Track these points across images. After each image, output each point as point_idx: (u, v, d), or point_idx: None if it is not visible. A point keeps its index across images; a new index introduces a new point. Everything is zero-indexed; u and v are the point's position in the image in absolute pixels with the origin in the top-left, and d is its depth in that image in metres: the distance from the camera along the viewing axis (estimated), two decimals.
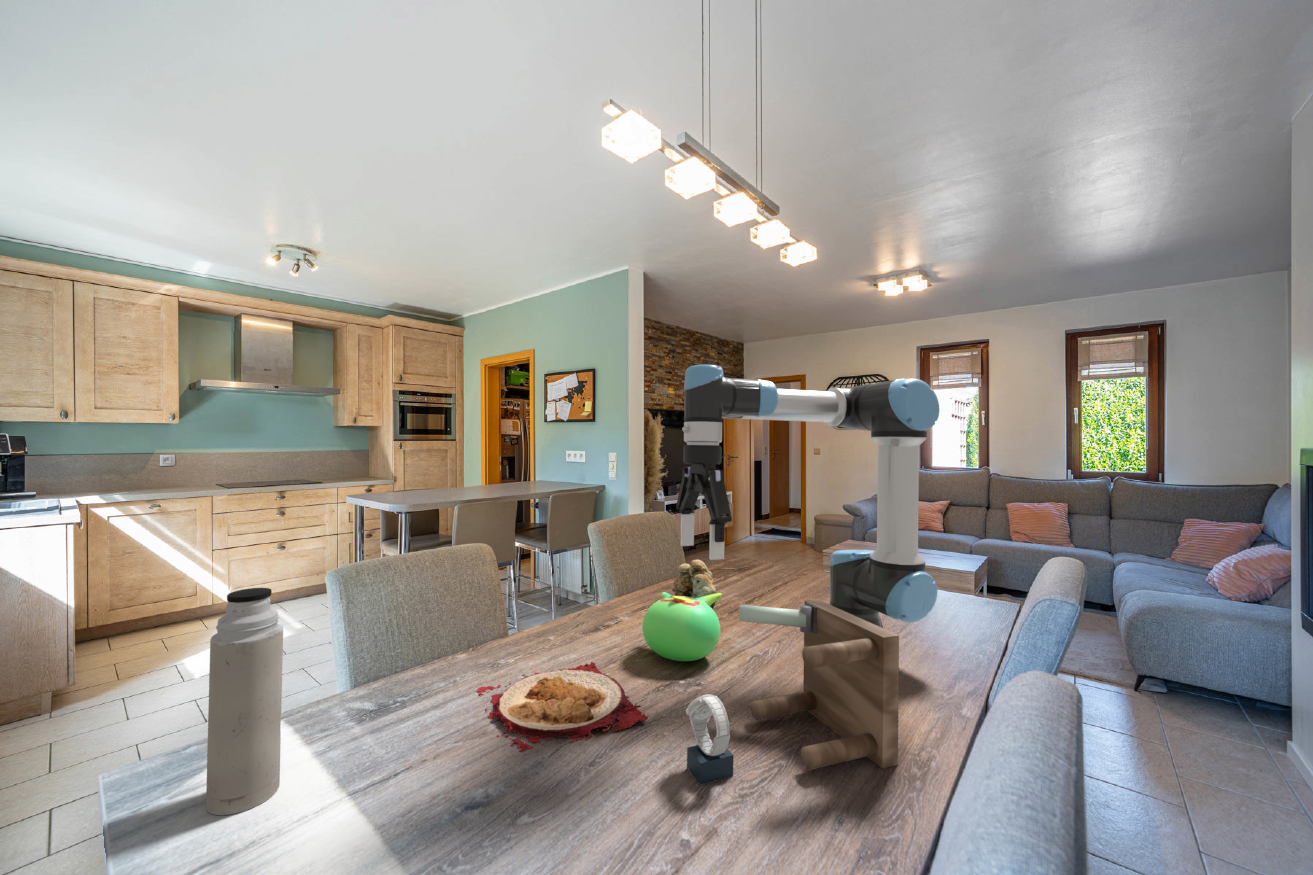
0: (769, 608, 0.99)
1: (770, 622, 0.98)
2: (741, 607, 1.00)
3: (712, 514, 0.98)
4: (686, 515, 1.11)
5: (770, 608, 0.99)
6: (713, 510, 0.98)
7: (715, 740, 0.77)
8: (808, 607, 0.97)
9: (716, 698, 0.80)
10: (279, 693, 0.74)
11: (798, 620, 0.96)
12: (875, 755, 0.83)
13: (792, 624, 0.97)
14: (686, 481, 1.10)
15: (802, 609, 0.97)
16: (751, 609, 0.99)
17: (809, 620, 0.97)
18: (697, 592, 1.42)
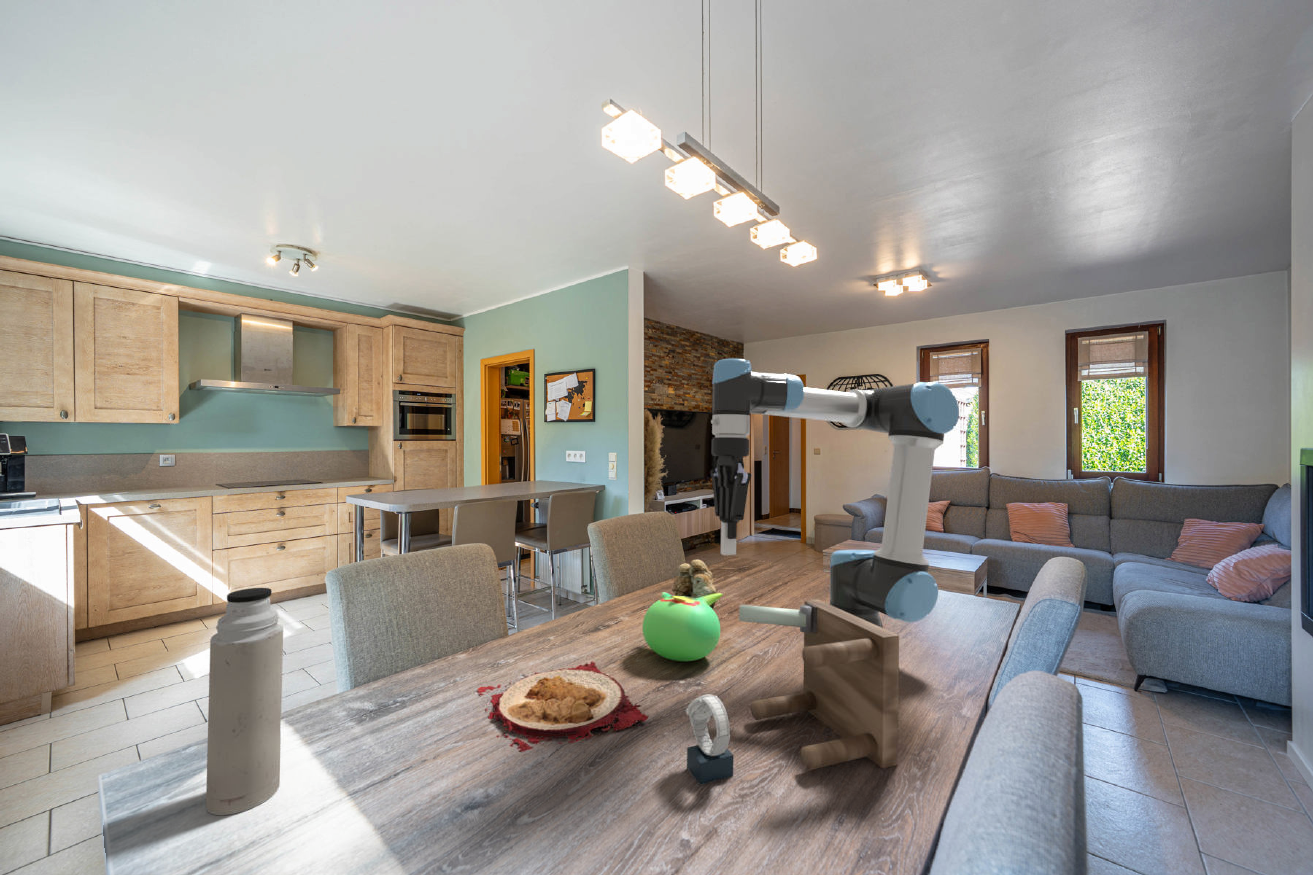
0: (769, 608, 0.99)
1: (770, 622, 0.98)
2: (741, 607, 1.00)
3: (727, 513, 1.05)
4: None
5: (770, 608, 0.99)
6: (729, 510, 1.05)
7: (715, 740, 0.77)
8: (808, 607, 0.97)
9: (716, 698, 0.80)
10: (279, 693, 0.74)
11: (798, 620, 0.96)
12: (875, 755, 0.83)
13: (792, 624, 0.97)
14: (717, 481, 1.10)
15: (802, 609, 0.97)
16: (751, 609, 0.99)
17: (809, 620, 0.97)
18: (697, 592, 1.42)
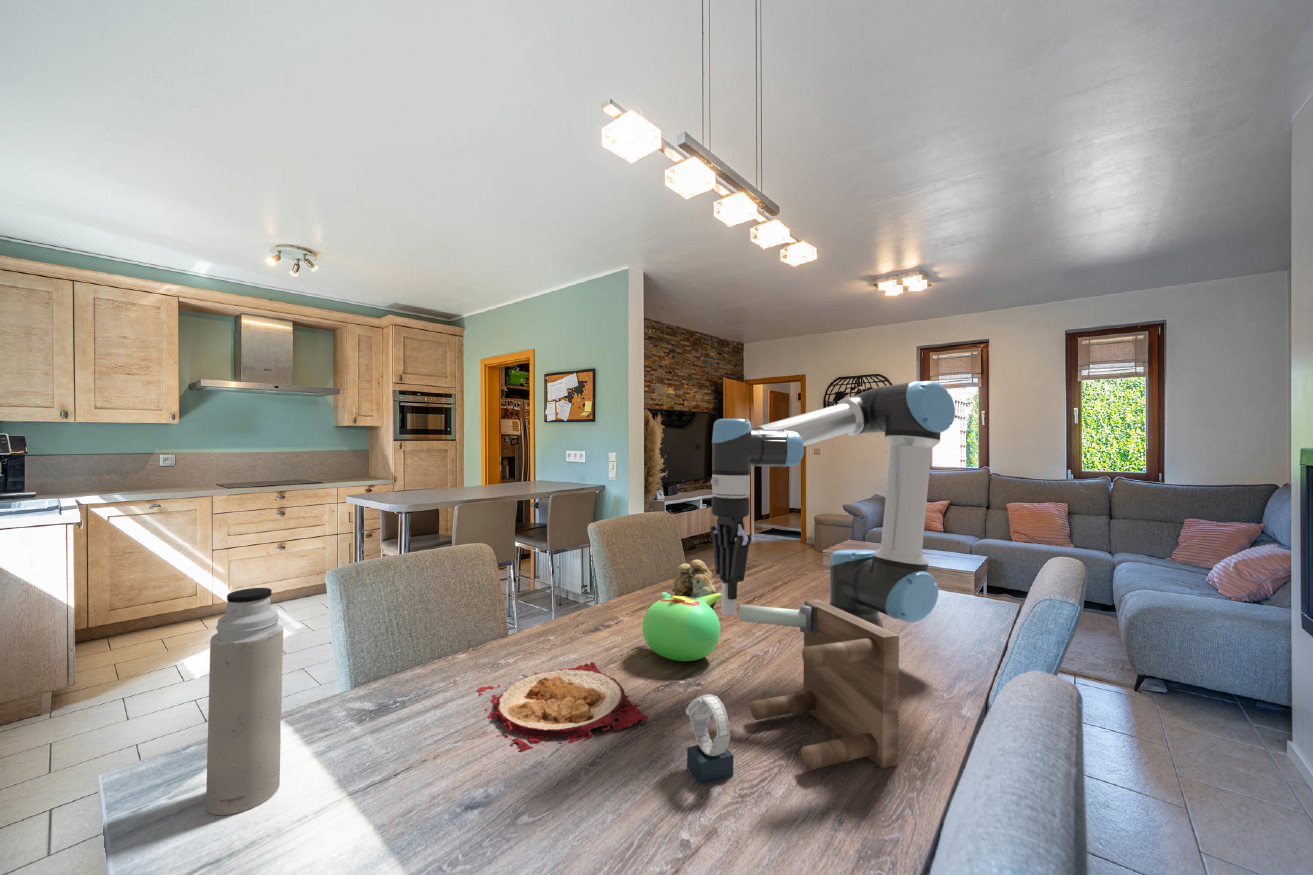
0: (769, 608, 0.99)
1: (770, 622, 0.98)
2: (741, 607, 1.00)
3: (727, 573, 1.04)
4: None
5: (770, 608, 0.99)
6: (730, 570, 1.04)
7: (715, 740, 0.77)
8: (808, 607, 0.97)
9: (716, 698, 0.80)
10: (279, 693, 0.74)
11: (798, 620, 0.96)
12: (875, 755, 0.83)
13: (792, 624, 0.97)
14: (718, 539, 1.10)
15: (802, 609, 0.97)
16: (751, 609, 0.99)
17: (809, 620, 0.97)
18: (697, 592, 1.42)
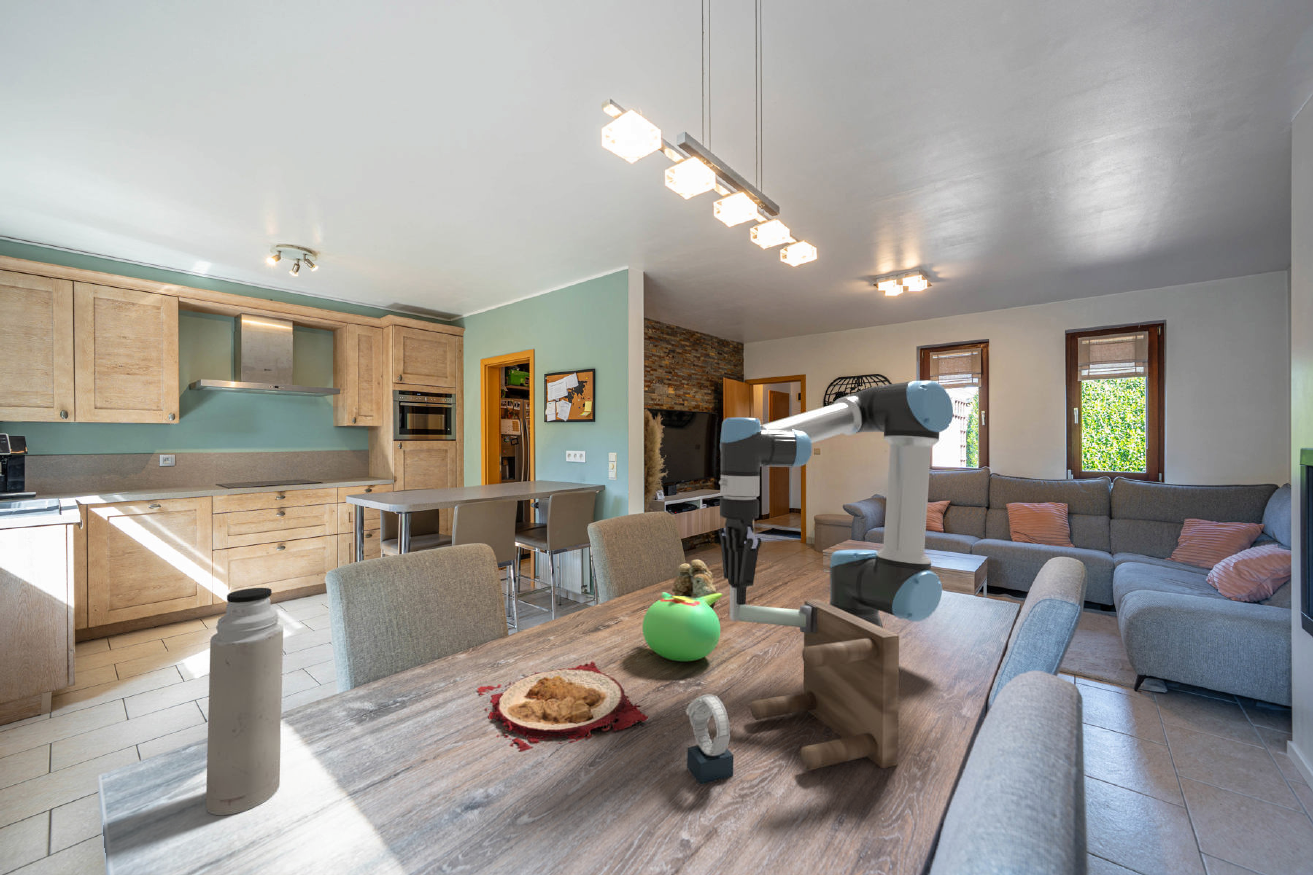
0: (769, 608, 0.99)
1: (770, 622, 0.98)
2: (741, 607, 1.00)
3: (736, 578, 1.01)
4: None
5: (770, 608, 0.99)
6: (738, 574, 1.01)
7: (715, 740, 0.77)
8: (808, 607, 0.97)
9: (716, 698, 0.80)
10: (279, 693, 0.74)
11: (798, 620, 0.96)
12: (875, 755, 0.83)
13: (792, 624, 0.97)
14: (726, 541, 1.06)
15: (802, 609, 0.97)
16: (751, 609, 0.99)
17: (809, 620, 0.97)
18: (697, 592, 1.42)
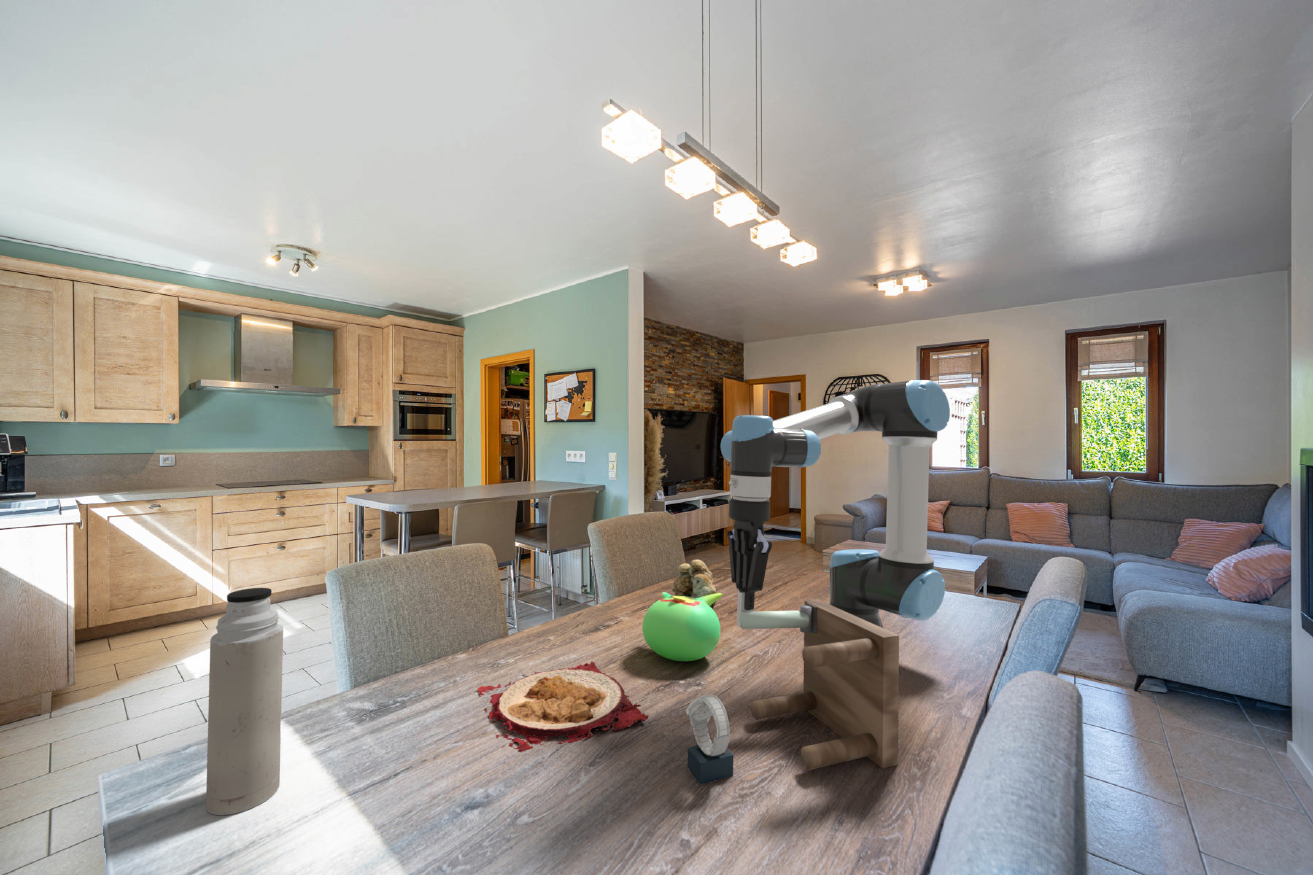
0: (772, 612, 0.96)
1: (774, 626, 0.96)
2: (745, 614, 0.95)
3: (745, 582, 0.97)
4: None
5: (772, 612, 0.96)
6: (747, 579, 0.97)
7: (715, 740, 0.77)
8: (808, 607, 0.97)
9: (716, 698, 0.80)
10: (279, 693, 0.74)
11: (801, 621, 0.96)
12: (875, 755, 0.83)
13: (795, 626, 0.96)
14: (734, 544, 1.02)
15: (804, 610, 0.97)
16: (755, 616, 0.95)
17: (810, 620, 0.97)
18: (697, 592, 1.42)
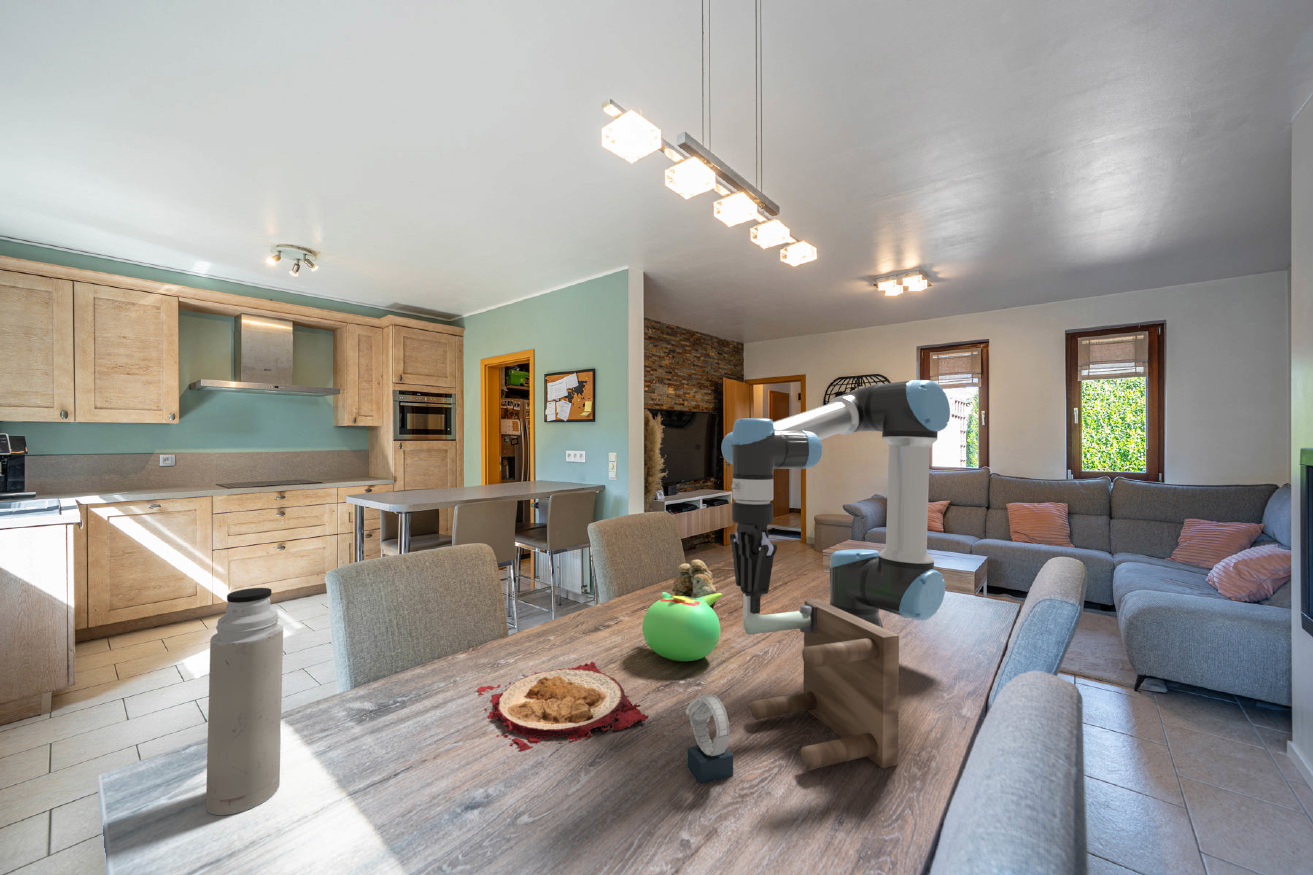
0: (776, 615, 0.95)
1: (779, 629, 0.94)
2: (752, 619, 0.93)
3: (750, 585, 0.97)
4: None
5: (776, 614, 0.95)
6: (752, 582, 0.96)
7: (714, 740, 0.77)
8: (808, 607, 0.97)
9: (716, 698, 0.80)
10: (279, 693, 0.74)
11: (804, 621, 0.96)
12: (875, 755, 0.83)
13: (798, 627, 0.95)
14: (738, 547, 1.02)
15: (805, 610, 0.96)
16: (762, 620, 0.93)
17: None
18: (697, 592, 1.42)
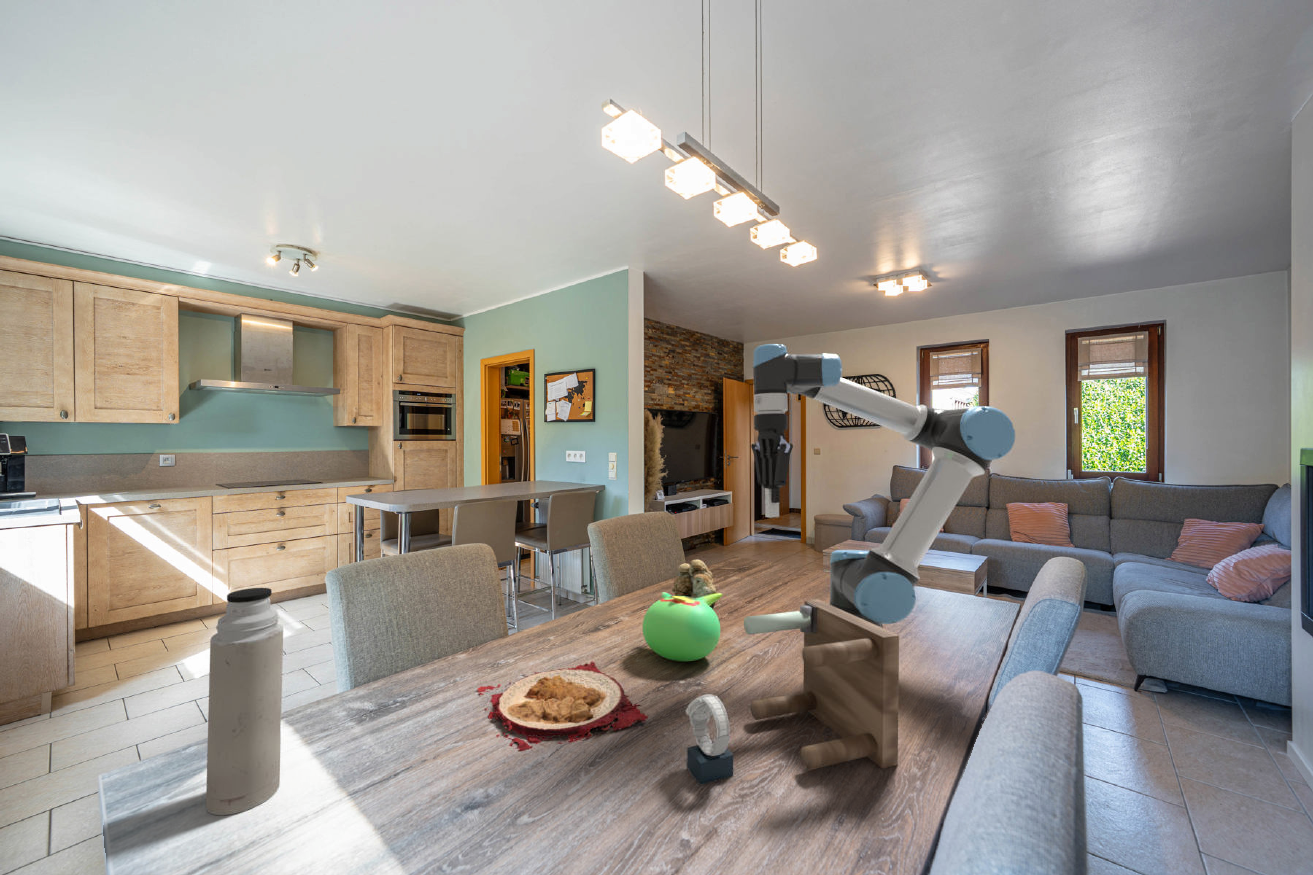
0: (776, 615, 0.95)
1: (779, 629, 0.94)
2: (752, 619, 0.93)
3: (771, 480, 1.19)
4: None
5: (776, 614, 0.95)
6: (773, 477, 1.19)
7: (715, 740, 0.77)
8: (808, 607, 0.97)
9: (716, 698, 0.80)
10: (279, 693, 0.74)
11: (804, 621, 0.96)
12: (875, 755, 0.83)
13: (798, 627, 0.95)
14: (758, 453, 1.25)
15: (805, 610, 0.96)
16: (762, 620, 0.93)
17: None
18: (697, 592, 1.42)
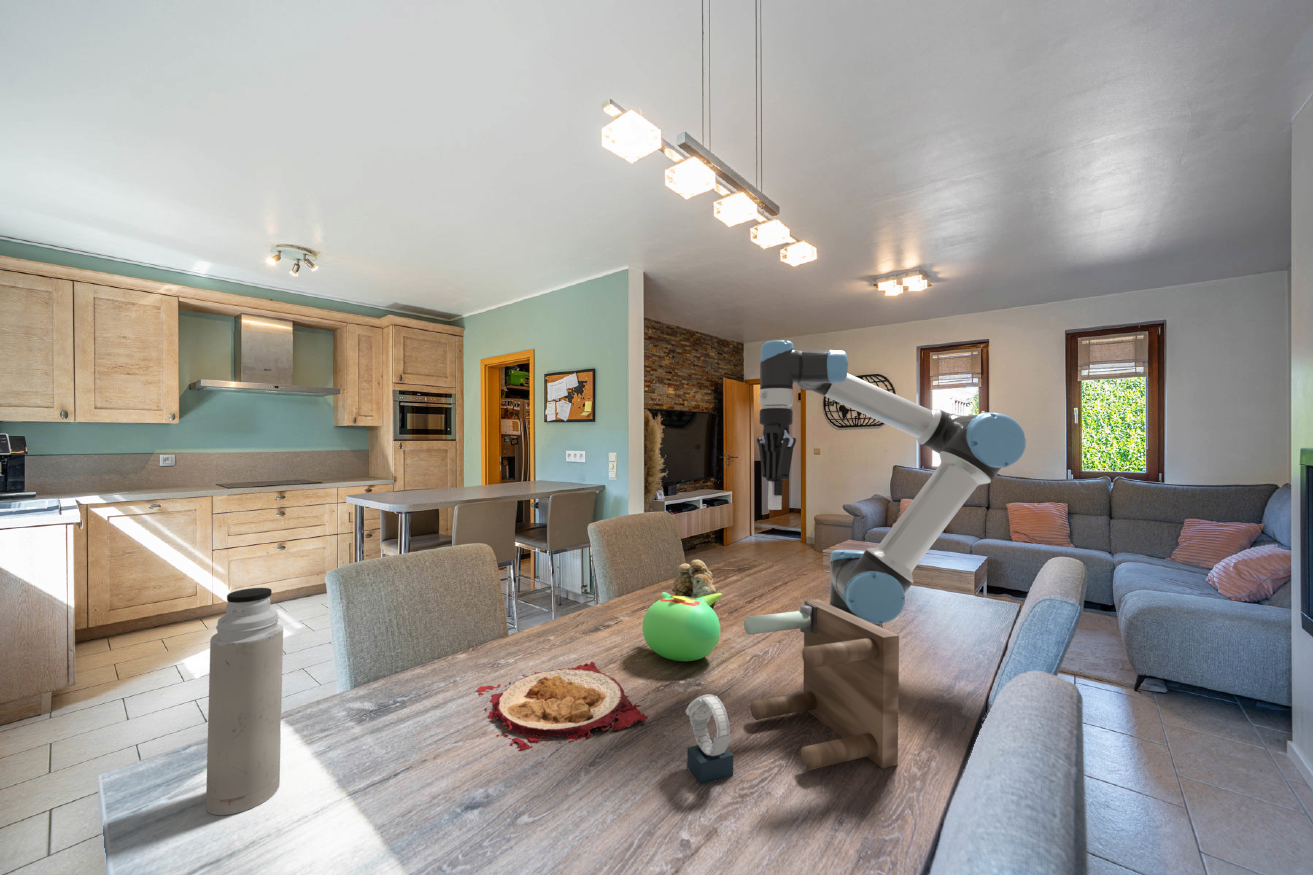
0: (776, 615, 0.95)
1: (779, 629, 0.94)
2: (752, 619, 0.93)
3: (774, 473, 1.22)
4: None
5: (776, 614, 0.95)
6: (776, 470, 1.22)
7: (715, 740, 0.77)
8: (808, 607, 0.97)
9: (716, 698, 0.80)
10: (279, 693, 0.74)
11: (804, 621, 0.96)
12: (875, 755, 0.83)
13: (798, 627, 0.95)
14: (764, 447, 1.27)
15: (805, 610, 0.96)
16: (762, 620, 0.93)
17: None
18: (697, 592, 1.42)
